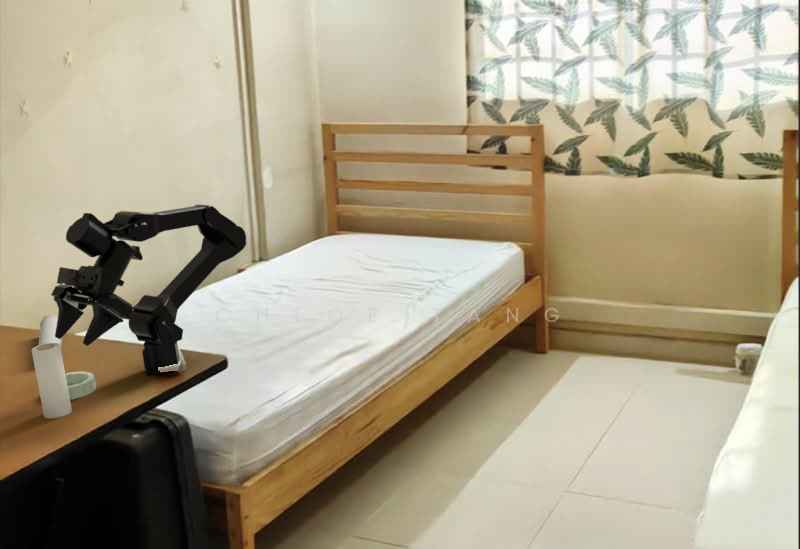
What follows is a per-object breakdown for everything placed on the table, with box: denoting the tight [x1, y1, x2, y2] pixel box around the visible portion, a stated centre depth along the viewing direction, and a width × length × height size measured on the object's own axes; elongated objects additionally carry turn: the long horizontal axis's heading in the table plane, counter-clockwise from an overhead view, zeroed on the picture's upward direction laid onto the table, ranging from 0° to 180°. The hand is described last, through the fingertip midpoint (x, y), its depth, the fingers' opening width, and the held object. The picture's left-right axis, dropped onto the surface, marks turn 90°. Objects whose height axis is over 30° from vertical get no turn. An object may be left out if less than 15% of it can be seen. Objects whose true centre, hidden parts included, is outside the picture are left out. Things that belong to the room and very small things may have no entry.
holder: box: [65, 371, 97, 401], centre depth 195 cm, size 9×9×2 cm
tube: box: [37, 314, 63, 349], centre depth 223 cm, size 5×5×25 cm
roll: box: [31, 343, 73, 419], centre depth 183 cm, size 5×5×13 cm
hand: (71, 341), depth 186 cm, fingers open, 9 cm apart
